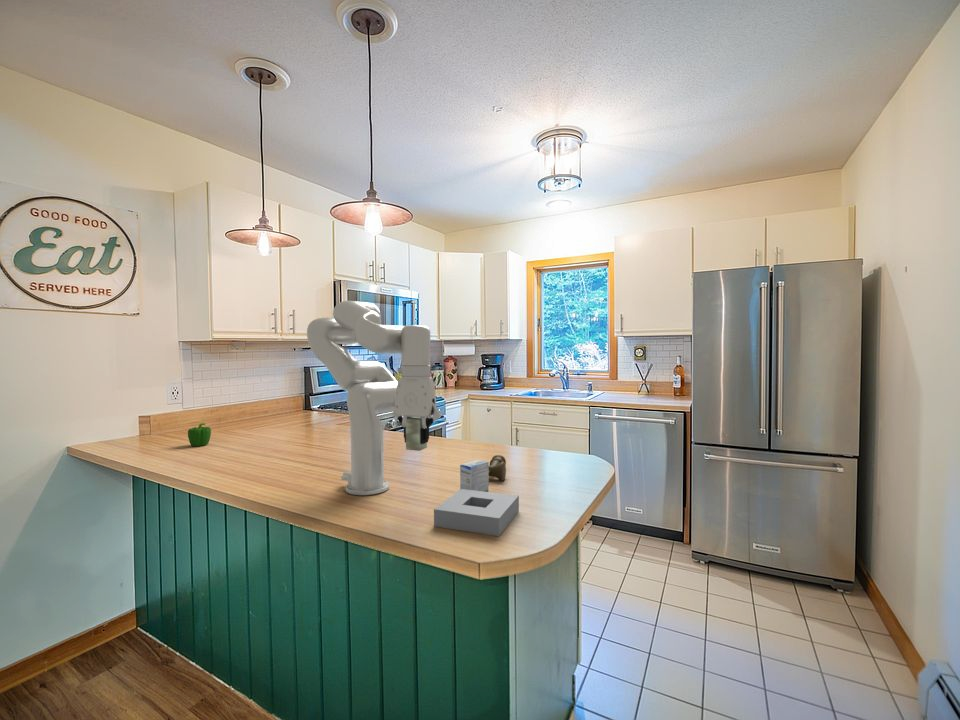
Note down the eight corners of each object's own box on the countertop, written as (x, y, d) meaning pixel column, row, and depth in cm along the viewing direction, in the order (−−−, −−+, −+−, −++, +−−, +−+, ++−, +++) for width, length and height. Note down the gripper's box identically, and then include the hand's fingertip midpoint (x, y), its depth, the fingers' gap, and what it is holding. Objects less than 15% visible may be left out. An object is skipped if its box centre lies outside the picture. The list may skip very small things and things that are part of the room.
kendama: (512, 470, 151) (501, 486, 131) (485, 469, 153) (470, 484, 134) (512, 453, 151) (500, 466, 132) (485, 452, 153) (470, 465, 134)
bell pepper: (183, 447, 188) (183, 424, 188) (200, 443, 196) (200, 421, 196) (197, 448, 186) (197, 425, 185) (215, 444, 193) (214, 422, 193)
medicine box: (477, 487, 130) (477, 458, 130) (489, 490, 127) (489, 461, 127) (459, 494, 124) (459, 464, 124) (471, 497, 121) (471, 466, 121)
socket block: (434, 526, 101) (433, 509, 101) (461, 503, 116) (460, 488, 116) (499, 536, 96) (499, 518, 96) (518, 511, 111) (518, 495, 111)
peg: (405, 449, 113) (405, 418, 113) (413, 446, 117) (413, 416, 116) (419, 450, 111) (419, 419, 111) (426, 447, 115) (426, 417, 115)
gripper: (380, 372, 113) (381, 442, 113) (438, 373, 107) (438, 447, 107) (396, 371, 120) (396, 437, 120) (451, 372, 114) (451, 441, 114)
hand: (416, 441), depth 114 cm, fingers closed on peg, 3 cm apart
